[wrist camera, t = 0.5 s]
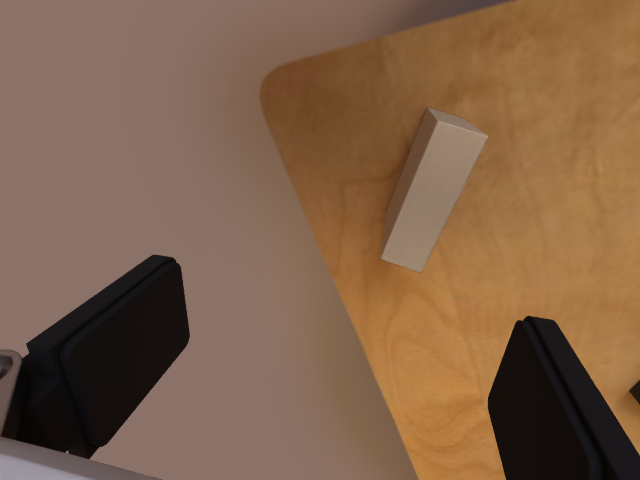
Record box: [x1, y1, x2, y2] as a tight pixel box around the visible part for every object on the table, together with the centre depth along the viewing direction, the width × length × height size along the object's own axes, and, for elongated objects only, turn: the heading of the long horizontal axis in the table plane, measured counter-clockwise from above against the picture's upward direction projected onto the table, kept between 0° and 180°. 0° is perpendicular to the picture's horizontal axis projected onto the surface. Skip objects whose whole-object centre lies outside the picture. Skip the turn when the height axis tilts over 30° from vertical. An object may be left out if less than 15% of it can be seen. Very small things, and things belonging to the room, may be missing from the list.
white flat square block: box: [380, 107, 488, 273], centre depth 22 cm, size 2×8×8 cm, turn 165°
